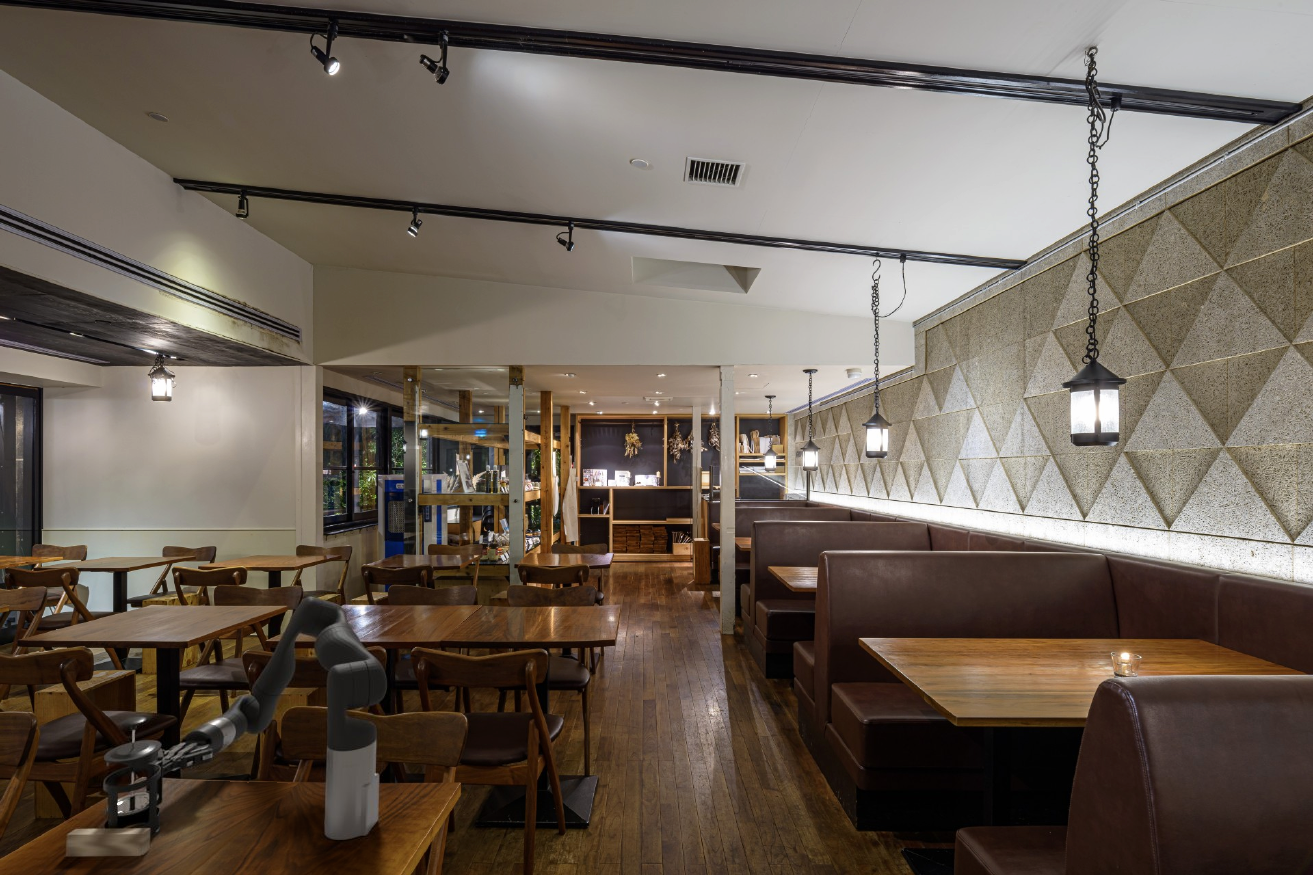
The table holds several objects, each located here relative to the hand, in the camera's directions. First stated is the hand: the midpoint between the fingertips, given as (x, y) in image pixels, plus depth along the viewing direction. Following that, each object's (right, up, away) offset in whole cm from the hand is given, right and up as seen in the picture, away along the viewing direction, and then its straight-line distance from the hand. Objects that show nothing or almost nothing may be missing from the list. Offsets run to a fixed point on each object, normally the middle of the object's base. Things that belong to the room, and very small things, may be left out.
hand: (154, 772), depth 138 cm
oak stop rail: (0, -9, -12) cm, 15 cm away
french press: (0, -9, -6) cm, 11 cm away
